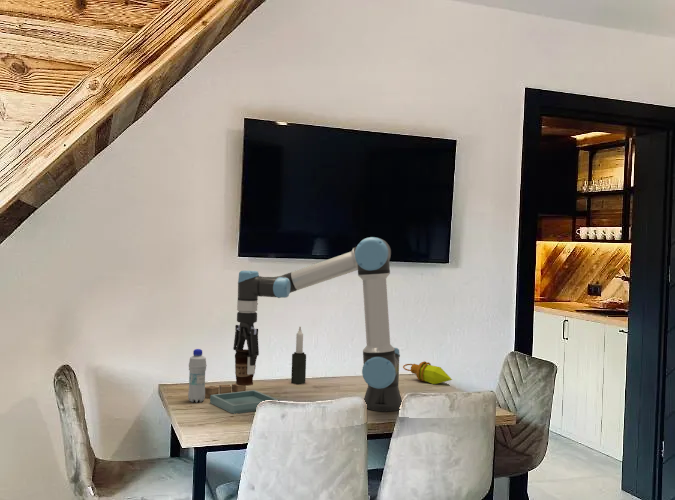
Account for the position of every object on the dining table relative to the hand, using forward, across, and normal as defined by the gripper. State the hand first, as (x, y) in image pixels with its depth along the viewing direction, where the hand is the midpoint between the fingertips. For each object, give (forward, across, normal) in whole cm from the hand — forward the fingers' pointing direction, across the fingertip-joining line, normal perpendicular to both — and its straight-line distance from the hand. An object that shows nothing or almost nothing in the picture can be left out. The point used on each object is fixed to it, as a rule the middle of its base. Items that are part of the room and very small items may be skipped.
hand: (245, 371), depth 253 cm
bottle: (+13, +14, +13) cm, 23 cm away
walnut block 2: (+13, +18, -1) cm, 22 cm away
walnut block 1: (+13, +18, +5) cm, 23 cm away
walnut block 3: (+13, +18, -7) cm, 23 cm away
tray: (+13, 0, 0) cm, 13 cm away
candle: (+13, +25, -40) cm, 49 cm away
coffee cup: (+5, 0, 0) cm, 5 cm away
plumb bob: (+12, 0, -94) cm, 95 cm away
